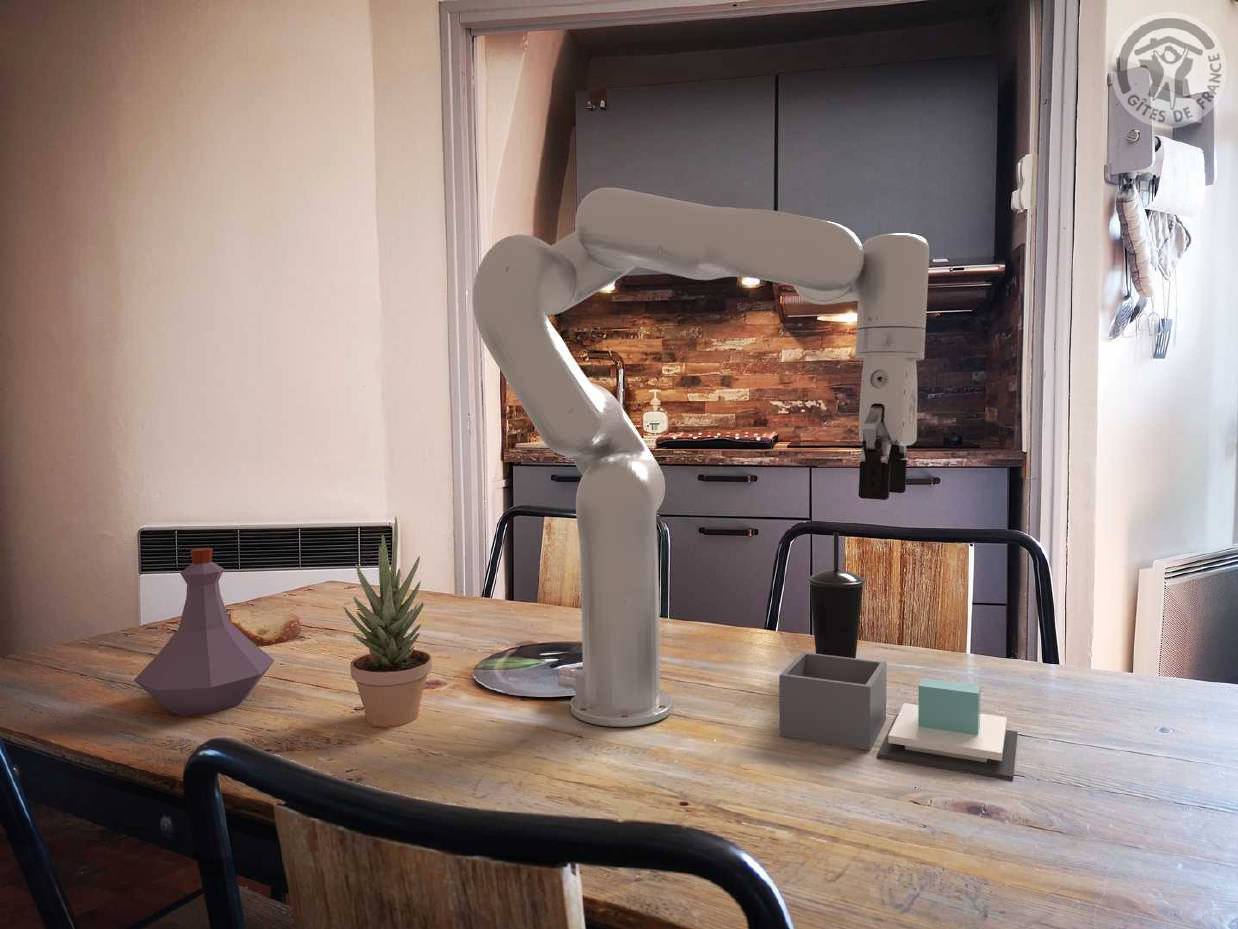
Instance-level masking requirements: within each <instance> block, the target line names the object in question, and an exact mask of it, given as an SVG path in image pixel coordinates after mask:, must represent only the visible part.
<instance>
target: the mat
mask: <svg viewBox="0 0 1238 929" xmlns="http://www.w3.org/2000/svg"><path fill="white" fill-rule="evenodd" d="M898 715H899V713H897V714H896V715H895V717H894V719H893V721H892V723H891V725H890V727H889V729H888V731H887V734H886V735H885V737H884V739H883V741H882V744H881V745H880V748H879V749H878V750H877V753H876V758H878V759H884V760H890V761H896V762H901V763H902V762H903V763H908V764H913V765H919V766H925V767H932V768H937V769H943V770H950V771H953V772H954V771H956V772H962V773H968V774H971V775H972V774H973V775H978V776H984V777H991V778H992V777H993V778H997V779H1003V780H1008V781H1009V780H1010V781H1013V779H1014V773H1015V772H1014V771H1015V769H1014V768H1015V761H1016V751H1017V750H1016V749H1017V741H1018V731H1017V730H1010V729H1006V734H1005V741H1004V749H1003V756H1002V761H1000V760H993V759H987V762H981V761H975V760H969V759H962V758H956V757H950V756H944V755H938V754H931V753H925V752H919V751H913V750H907V749H905V745H899V744H893V743H888V735H889V733H890V731H891V729H892V727H893V725H894V723H895V721H896V719H897V717H898Z"/></svg>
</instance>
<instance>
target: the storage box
mask: <svg viewBox="0 0 1238 929" xmlns="http://www.w3.org/2000/svg"><path fill="white" fill-rule="evenodd" d="M778 675H779V678H778V679H779V681H778V684H779V688H778V689H779V692H778V693H779V695H778V696H779V698H778V699H779V702H778V703H779V705H778V706H779V713H778V714H779V715H778V716H779V720H778V721H779V723H778V724H779V726H778V727H779V737H784V738H789V739H796V740H801V741H802V740H803V741H808V742H814V743H821V744H825V745H826V744H828V745H832V746H833V745H834V746H840V747H844V748H850V749H851V748H852V749H857V750H864V751H869V752H870V751H871V750H872V748H873V746H874V744H875V742H876V741H877V738H878V737H879V734H880V733H881V731H882V729H883V727H884V725H885V723H886V722H887V661H880V660H872V659H864V658H857V657H856V658H848V657H839V656H831V655H822V654H816V653H812V652H806V651H805V652H801V653H800V654H799V655H797V657H796V658H795V659H794V660H793V661H792V662H791V663H790V664H788V666H787V667H786V668H785V669H783V671H782V672H780V674H778Z"/></svg>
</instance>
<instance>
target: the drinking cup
mask: <svg viewBox="0 0 1238 929" xmlns="http://www.w3.org/2000/svg"><path fill="white" fill-rule="evenodd" d="M839 536H840V533H839V532H833V568H832V569H826V570H822V571H819V572H817V573H815V574H813V575H810V576H808V577H807V583H808V584H809V590H810V603H811V612H812V614H811V615H812V625H813V635H814V636H813V637H814V645H815V647H814V648H815V654H822V655H831V656H839V657H848V658H856V659H857V652H858V651H857V650H858V641H859V640H858V639H859V632H860V631H859V630H860V618H861V611H862V610H861V608H862V600H863V599H862V598H863V590H864V589H863V588H864V586H865V585H866V579H865V578H863V577H861V576H858V575H857V574H855V573H853V572H851V571H848V570H845V569H840V564H839V563H840V561H839V560H840V549H839V548H840V546H839V545H840V544H839V543H840V540H839V539H840V537H839Z"/></svg>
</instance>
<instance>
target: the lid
mask: <svg viewBox="0 0 1238 929" xmlns="http://www.w3.org/2000/svg"><path fill="white" fill-rule="evenodd" d="M981 690H982V689H981V684H974V683H967V682H959V681H949V680H941V679H934V678H933V679H932V678H927V677H922V678H921V680H920V681H919V685H918V697H917V698H918V699H917V700H918V704H914V703H907V702H906V703H905V702H904V703H903V705H901V706H902V707H901V709H900V711H899V713H898V714H899V715H898V717H897V719H896V721H895V723H894V725H893V727H892V729H891V731H890V733H889V735H888V743H893V744H899V745H905V749H907V750H913V751H919V752H925V753H931V754H938V755H944V756H950V757H956V758H962V759H969V760H975V761H981V762H987V759H993V760H1000V761H1002V756H1003V749H1004V741H1005V734H1006V730H1007V727H1008V718H1007V716H1001V715H995V714H987V713H985V714H984V713H981Z"/></svg>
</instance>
